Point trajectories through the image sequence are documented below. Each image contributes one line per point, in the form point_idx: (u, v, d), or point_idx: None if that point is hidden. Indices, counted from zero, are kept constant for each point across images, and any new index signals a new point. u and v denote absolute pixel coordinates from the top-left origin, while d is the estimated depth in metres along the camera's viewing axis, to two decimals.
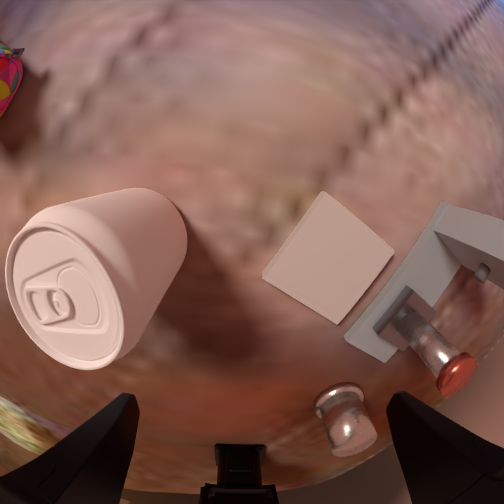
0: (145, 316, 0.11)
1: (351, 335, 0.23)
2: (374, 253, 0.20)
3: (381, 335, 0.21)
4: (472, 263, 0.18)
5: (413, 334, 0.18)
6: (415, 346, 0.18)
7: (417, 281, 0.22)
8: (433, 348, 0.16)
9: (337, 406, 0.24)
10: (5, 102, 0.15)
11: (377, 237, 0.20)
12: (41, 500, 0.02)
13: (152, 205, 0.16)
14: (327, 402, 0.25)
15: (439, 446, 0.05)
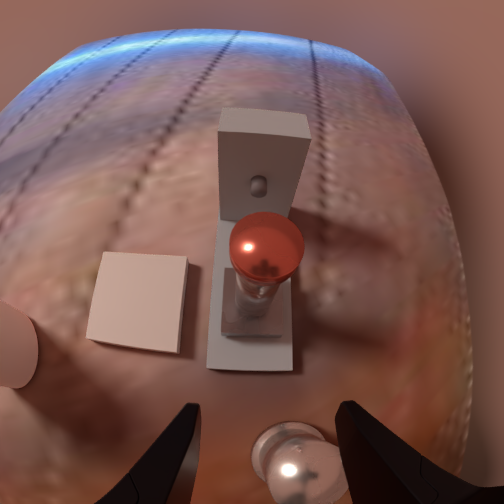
0: None
1: (207, 358, 0.19)
2: (167, 269, 0.22)
3: (224, 330, 0.18)
4: (265, 199, 0.22)
5: (236, 291, 0.17)
6: (240, 296, 0.16)
7: None
8: None
9: (264, 451, 0.14)
10: None
11: (161, 256, 0.22)
12: None
13: None
14: (259, 458, 0.15)
15: (380, 467, 0.05)
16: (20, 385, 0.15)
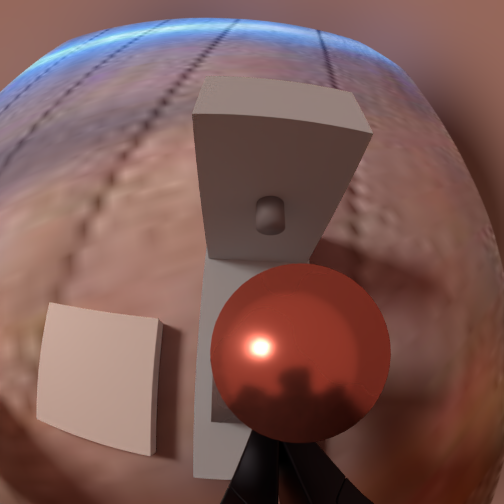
0: None
1: (194, 465, 0.11)
2: (130, 337, 0.13)
3: (217, 419, 0.11)
4: None
5: None
6: None
7: None
8: None
9: None
10: None
11: (121, 316, 0.14)
12: None
13: None
14: None
15: (295, 483, 0.04)
16: None
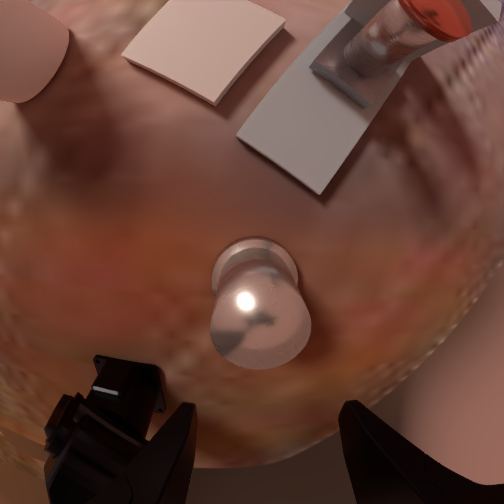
0: None
1: (242, 126, 0.15)
2: (256, 19, 0.13)
3: (319, 60, 0.13)
4: None
5: (359, 32, 0.10)
6: (365, 34, 0.09)
7: None
8: (383, 7, 0.07)
9: (235, 261, 0.16)
10: None
11: (256, 6, 0.12)
12: None
13: (40, 8, 0.08)
14: (225, 264, 0.17)
15: (384, 466, 0.05)
16: (24, 99, 0.13)
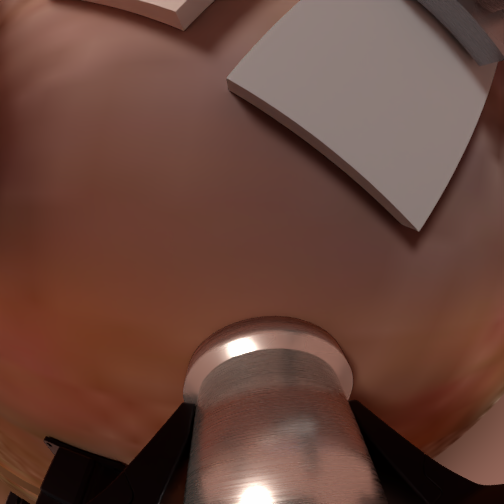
0: None
1: (244, 58, 0.05)
2: None
3: None
4: None
5: None
6: None
7: None
8: None
9: (227, 402, 0.06)
10: None
11: None
12: None
13: None
14: (207, 382, 0.07)
15: (383, 466, 0.05)
16: None
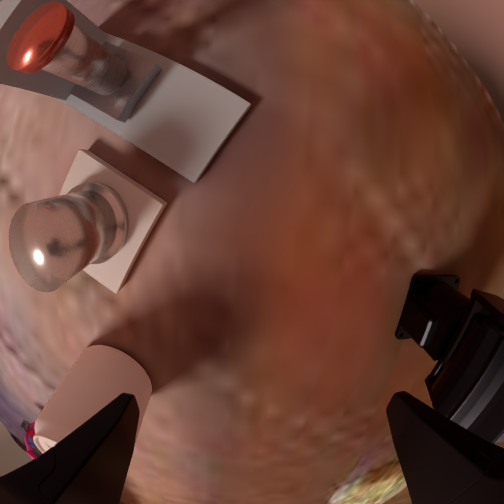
0: (66, 427, 0.12)
1: (185, 177, 0.17)
2: (81, 175, 0.16)
3: (117, 114, 0.14)
4: None
5: (83, 86, 0.11)
6: (84, 82, 0.10)
7: None
8: (53, 73, 0.08)
9: None
10: None
11: (68, 177, 0.16)
12: (41, 500, 0.02)
13: (65, 375, 0.18)
14: None
15: (439, 446, 0.05)
16: (149, 385, 0.22)
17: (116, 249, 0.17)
